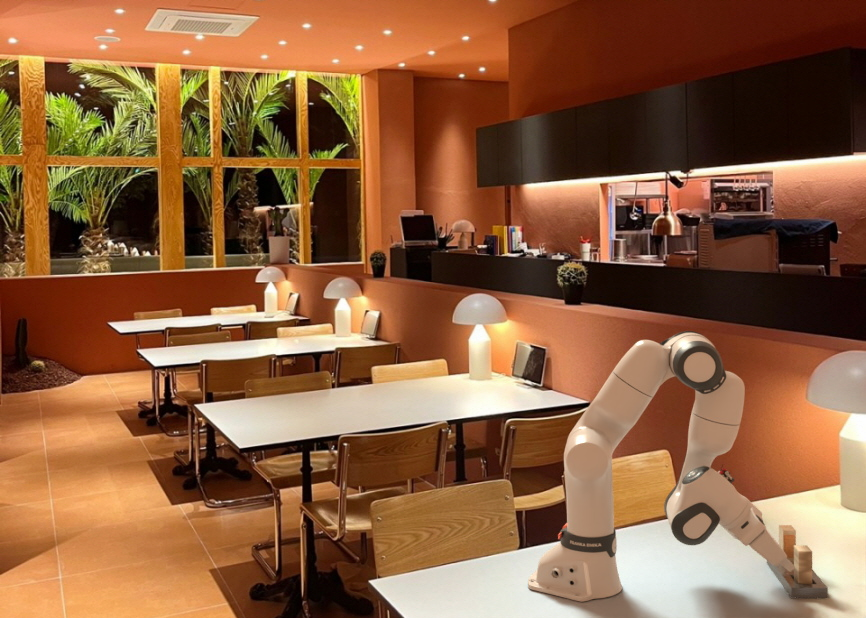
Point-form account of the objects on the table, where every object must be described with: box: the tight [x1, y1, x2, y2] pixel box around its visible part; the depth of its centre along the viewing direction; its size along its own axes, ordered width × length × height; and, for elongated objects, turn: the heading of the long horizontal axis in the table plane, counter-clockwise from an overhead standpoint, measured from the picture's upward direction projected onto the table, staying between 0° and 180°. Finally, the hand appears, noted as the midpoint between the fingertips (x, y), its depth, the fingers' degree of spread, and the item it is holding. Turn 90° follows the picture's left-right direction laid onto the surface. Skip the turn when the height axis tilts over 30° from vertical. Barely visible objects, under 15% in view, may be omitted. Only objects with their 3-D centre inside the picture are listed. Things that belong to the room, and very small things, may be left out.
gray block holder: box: [766, 524, 829, 599], centre depth 213 cm, size 8×22×10 cm, turn 173°
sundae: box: [717, 463, 735, 485], centre depth 267 cm, size 7×7×15 cm
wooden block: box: [794, 544, 813, 584], centre depth 207 cm, size 3×4×10 cm
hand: (786, 561), depth 208 cm, fingers open, 8 cm apart
